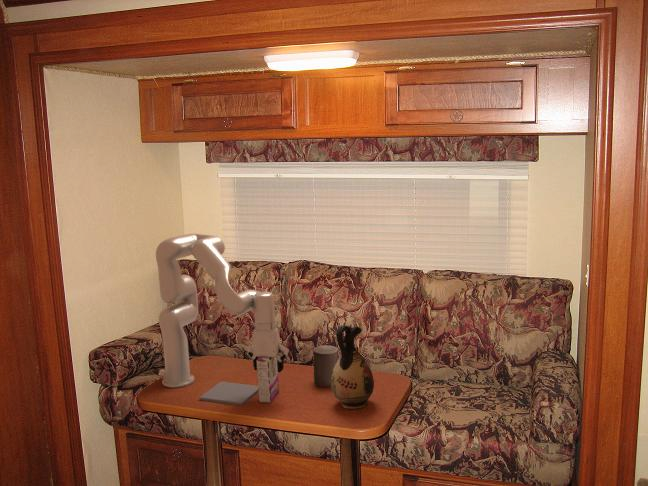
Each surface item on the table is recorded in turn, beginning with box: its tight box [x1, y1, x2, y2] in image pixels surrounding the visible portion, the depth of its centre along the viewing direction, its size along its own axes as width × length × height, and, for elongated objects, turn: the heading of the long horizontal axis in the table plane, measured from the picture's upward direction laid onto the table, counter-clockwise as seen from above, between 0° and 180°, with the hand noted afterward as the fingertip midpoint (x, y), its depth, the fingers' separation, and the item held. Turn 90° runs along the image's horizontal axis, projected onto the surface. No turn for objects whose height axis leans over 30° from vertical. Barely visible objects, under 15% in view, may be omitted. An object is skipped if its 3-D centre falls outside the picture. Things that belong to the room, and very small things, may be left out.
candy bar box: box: [256, 356, 280, 404], centre depth 228 cm, size 11×5×16 cm, turn 168°
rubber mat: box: [198, 381, 259, 406], centre depth 233 cm, size 18×16×1 cm
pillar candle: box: [312, 345, 339, 388], centre depth 240 cm, size 10×10×15 cm
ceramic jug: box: [330, 324, 375, 409], centre depth 218 cm, size 17×15×30 cm
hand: (268, 369), depth 228 cm, fingers open, 9 cm apart
